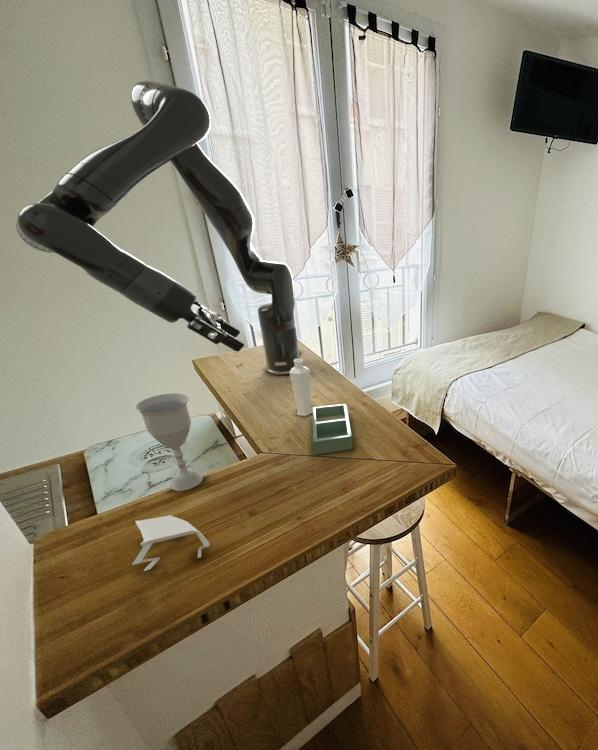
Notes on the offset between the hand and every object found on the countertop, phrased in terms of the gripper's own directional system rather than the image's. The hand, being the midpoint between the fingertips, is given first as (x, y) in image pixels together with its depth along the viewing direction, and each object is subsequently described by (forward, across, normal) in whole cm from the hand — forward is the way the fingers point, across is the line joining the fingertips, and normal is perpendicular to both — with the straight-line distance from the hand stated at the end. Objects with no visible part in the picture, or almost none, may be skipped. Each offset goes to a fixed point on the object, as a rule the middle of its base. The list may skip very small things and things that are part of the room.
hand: (239, 341), depth 88 cm
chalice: (+6, -17, +25) cm, 31 cm away
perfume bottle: (+23, 0, +7) cm, 25 cm away
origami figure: (+4, -35, +26) cm, 44 cm away
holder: (+26, -13, +5) cm, 29 cm away
